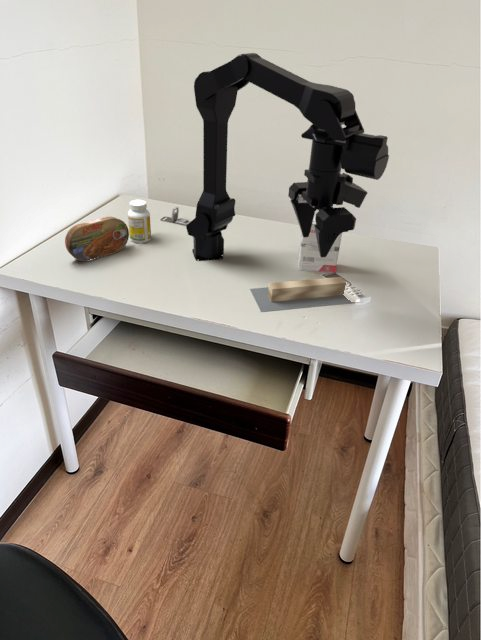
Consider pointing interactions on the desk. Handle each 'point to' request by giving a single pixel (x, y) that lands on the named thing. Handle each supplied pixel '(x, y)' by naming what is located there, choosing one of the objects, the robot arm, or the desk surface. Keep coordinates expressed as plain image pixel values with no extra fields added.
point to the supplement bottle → (139, 222)
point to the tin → (96, 238)
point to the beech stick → (306, 289)
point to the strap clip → (176, 218)
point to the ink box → (317, 253)
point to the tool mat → (293, 301)
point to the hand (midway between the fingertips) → (314, 246)
